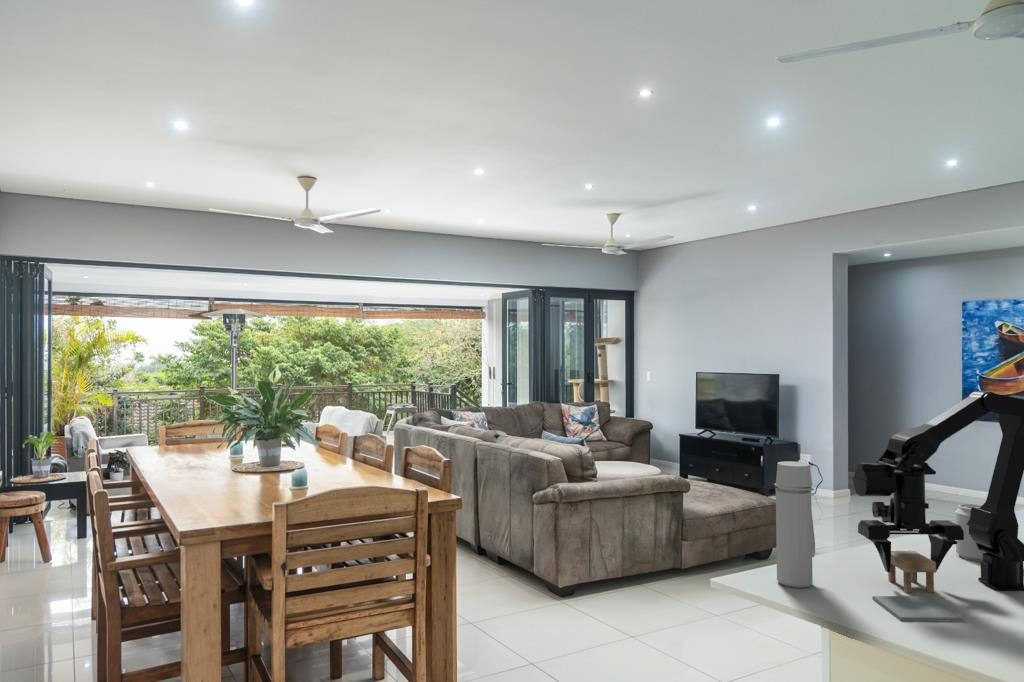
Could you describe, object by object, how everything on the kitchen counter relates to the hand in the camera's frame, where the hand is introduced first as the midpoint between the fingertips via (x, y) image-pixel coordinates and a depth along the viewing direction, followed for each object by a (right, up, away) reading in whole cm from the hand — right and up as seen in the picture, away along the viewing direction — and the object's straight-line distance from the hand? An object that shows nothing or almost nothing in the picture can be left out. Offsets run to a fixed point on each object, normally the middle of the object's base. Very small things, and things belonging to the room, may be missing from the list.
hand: (910, 571), depth 146 cm
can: (+26, -3, +20) cm, 33 cm away
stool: (0, -3, 0) cm, 3 cm away
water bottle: (-22, -4, +3) cm, 22 cm away
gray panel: (-6, -3, -13) cm, 14 cm away
